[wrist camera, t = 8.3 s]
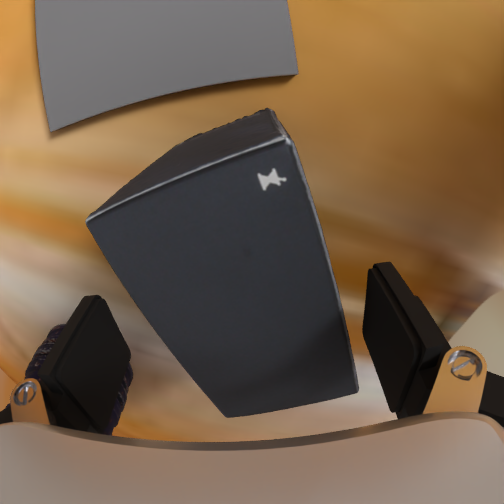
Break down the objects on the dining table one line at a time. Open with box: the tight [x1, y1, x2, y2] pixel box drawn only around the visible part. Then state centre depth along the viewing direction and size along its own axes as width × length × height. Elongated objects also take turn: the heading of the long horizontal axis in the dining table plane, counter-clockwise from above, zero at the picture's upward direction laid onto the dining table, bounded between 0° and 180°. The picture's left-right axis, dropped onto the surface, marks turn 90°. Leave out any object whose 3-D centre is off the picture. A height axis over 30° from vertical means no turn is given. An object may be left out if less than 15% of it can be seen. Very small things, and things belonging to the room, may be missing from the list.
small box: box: [85, 108, 359, 418], centre depth 14 cm, size 11×6×10 cm, turn 20°
